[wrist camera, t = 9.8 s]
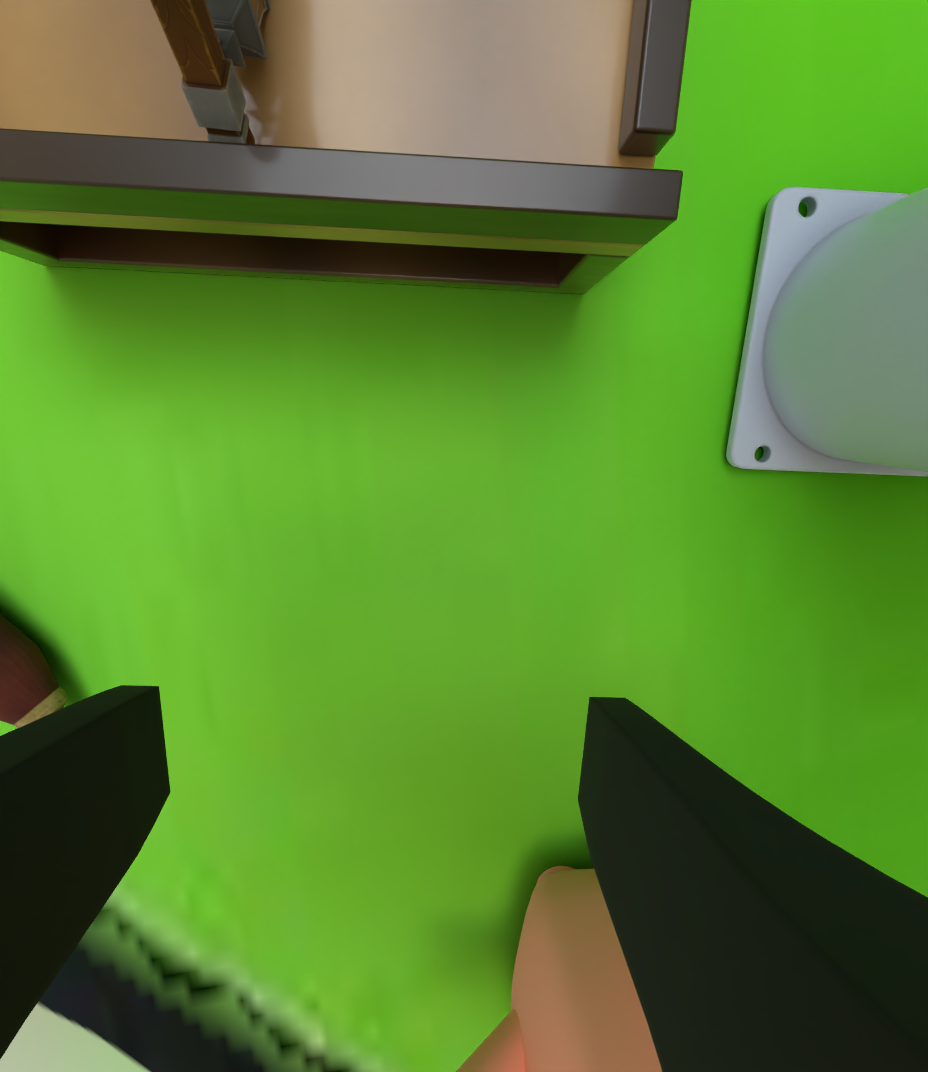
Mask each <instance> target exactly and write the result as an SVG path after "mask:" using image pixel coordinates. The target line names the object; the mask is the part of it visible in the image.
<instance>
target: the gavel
mask: <svg viewBox="0 0 928 1072" xmlns="http://www.w3.org/2000/svg"><path fill="white" fill-rule="evenodd" d="M67 698H68V697H67V692H66V691H64V690H63V689H62V688H61V687H60V686H59V684H58V683H57V681H56V679H55V677H54V675H53V673H52V671H51V669H50V667H49V666H48V664H47V662H46V660H45V658H44V656H43V654H42V652H41V650H40V649H39V647H38V646H37V645H36V644H35V643H34V642H33V641H31V640H30V639H29V638H28V637H27V636H26V635H24V634H23V633H22V632H21V631H20V630H18V629H17V628H16V627H15V626H14V625H12V624H11V623H10V622H9V621H8V620H6V619H5V618H4V617H3V616H2V615H0V721H3V722H6V723H9V724H13V725H14V726H16V727H17V728H20V727H22V726H24V725H26V724H29V723H31V722H33V721H35V720H38V719H40V718H42V717H44V716H47V715H49V714H51V713H53V712H56V711H58V710H60V709H62V708H63V707H64V704H65V702H66V700H67Z"/></svg>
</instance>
